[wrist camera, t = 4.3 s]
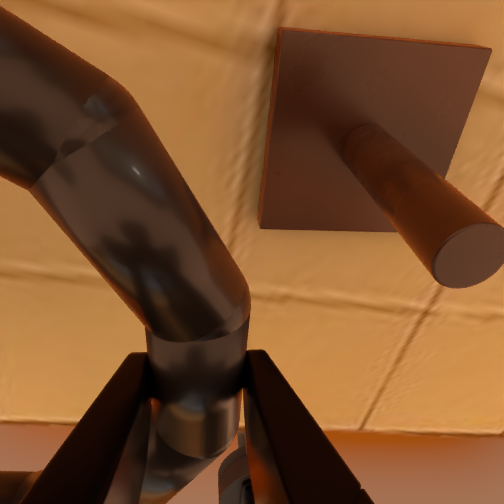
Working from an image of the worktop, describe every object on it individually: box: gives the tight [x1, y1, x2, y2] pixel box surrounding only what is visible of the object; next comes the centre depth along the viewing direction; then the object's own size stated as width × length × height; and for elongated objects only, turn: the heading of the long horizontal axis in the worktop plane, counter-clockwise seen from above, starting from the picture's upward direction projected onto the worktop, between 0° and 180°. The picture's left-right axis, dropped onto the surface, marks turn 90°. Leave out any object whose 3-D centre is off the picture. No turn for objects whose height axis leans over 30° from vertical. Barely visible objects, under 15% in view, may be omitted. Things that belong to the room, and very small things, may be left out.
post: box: [258, 27, 504, 288], centre depth 14 cm, size 8×8×9 cm
